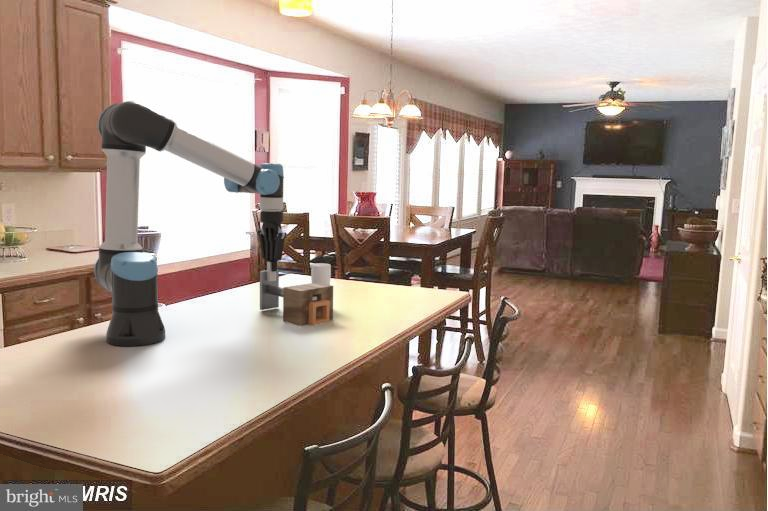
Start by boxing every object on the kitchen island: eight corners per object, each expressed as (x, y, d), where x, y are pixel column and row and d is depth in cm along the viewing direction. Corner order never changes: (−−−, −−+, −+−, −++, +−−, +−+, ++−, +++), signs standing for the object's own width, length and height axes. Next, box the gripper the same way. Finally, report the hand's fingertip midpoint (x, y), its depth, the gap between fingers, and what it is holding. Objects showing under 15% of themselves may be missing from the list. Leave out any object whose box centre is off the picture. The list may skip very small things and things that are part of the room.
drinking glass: (331, 305, 226) (332, 263, 224) (328, 309, 219) (328, 266, 217) (313, 304, 226) (313, 262, 224) (309, 308, 220) (309, 265, 218)
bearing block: (299, 325, 195) (299, 291, 194) (283, 321, 201) (283, 287, 199) (332, 318, 205) (333, 285, 204) (316, 314, 211) (316, 282, 209)
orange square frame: (312, 325, 196) (313, 303, 195) (308, 324, 198) (308, 302, 197) (329, 322, 202) (329, 300, 200) (324, 320, 203) (325, 299, 202)
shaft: (307, 322, 198) (307, 280, 196) (259, 309, 214) (259, 271, 212) (323, 318, 203) (324, 278, 201) (276, 306, 219) (276, 269, 218)
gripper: (293, 211, 209) (292, 282, 213) (268, 208, 218) (268, 277, 221) (274, 211, 204) (274, 284, 207) (250, 209, 213) (250, 279, 216)
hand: (271, 280), depth 214 cm, fingers closed
